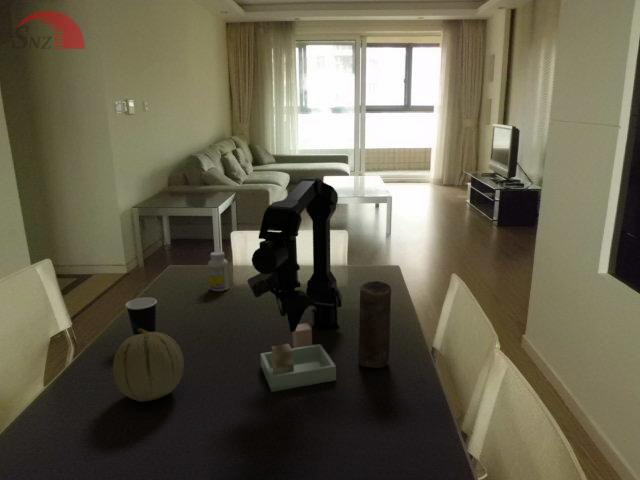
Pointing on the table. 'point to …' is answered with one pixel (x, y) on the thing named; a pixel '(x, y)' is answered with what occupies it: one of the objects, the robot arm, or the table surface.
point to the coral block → (302, 336)
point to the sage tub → (300, 368)
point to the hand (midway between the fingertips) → (287, 323)
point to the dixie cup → (142, 314)
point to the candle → (374, 324)
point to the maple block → (282, 359)
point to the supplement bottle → (218, 272)
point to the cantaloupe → (148, 366)
